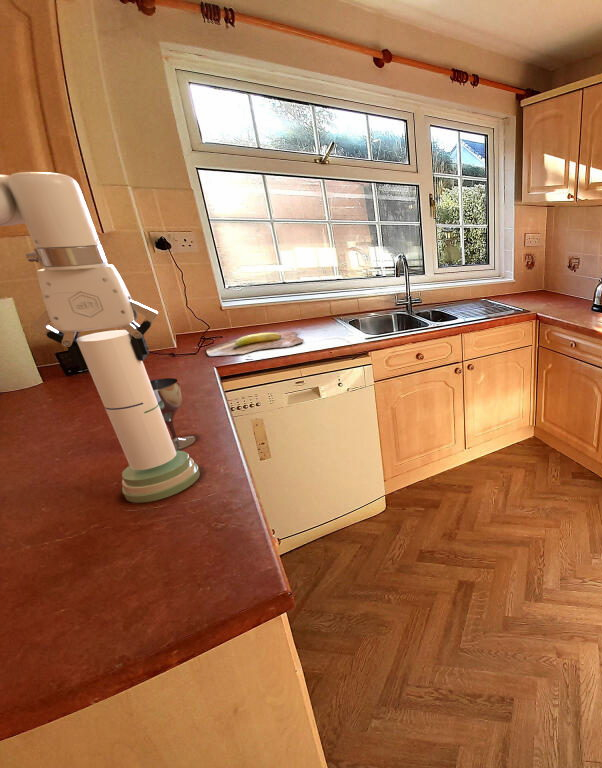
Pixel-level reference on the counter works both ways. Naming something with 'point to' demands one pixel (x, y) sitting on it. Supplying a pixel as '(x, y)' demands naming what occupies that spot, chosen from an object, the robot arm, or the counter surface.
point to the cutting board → (255, 343)
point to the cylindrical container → (128, 398)
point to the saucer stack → (160, 479)
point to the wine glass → (170, 407)
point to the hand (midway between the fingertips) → (115, 361)
